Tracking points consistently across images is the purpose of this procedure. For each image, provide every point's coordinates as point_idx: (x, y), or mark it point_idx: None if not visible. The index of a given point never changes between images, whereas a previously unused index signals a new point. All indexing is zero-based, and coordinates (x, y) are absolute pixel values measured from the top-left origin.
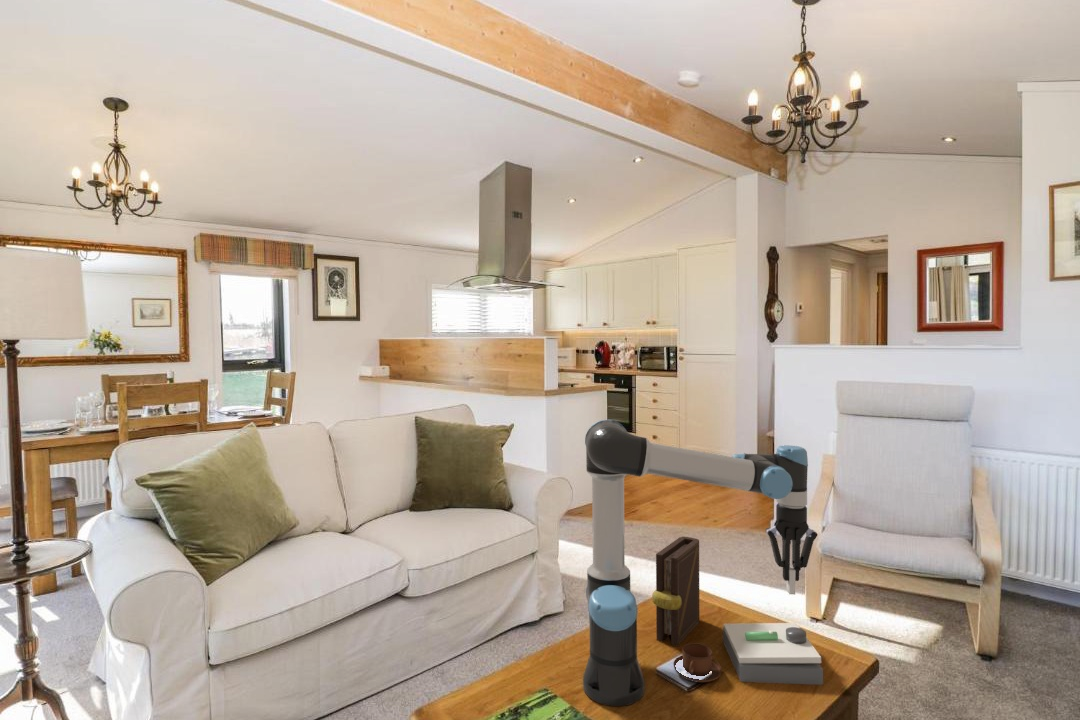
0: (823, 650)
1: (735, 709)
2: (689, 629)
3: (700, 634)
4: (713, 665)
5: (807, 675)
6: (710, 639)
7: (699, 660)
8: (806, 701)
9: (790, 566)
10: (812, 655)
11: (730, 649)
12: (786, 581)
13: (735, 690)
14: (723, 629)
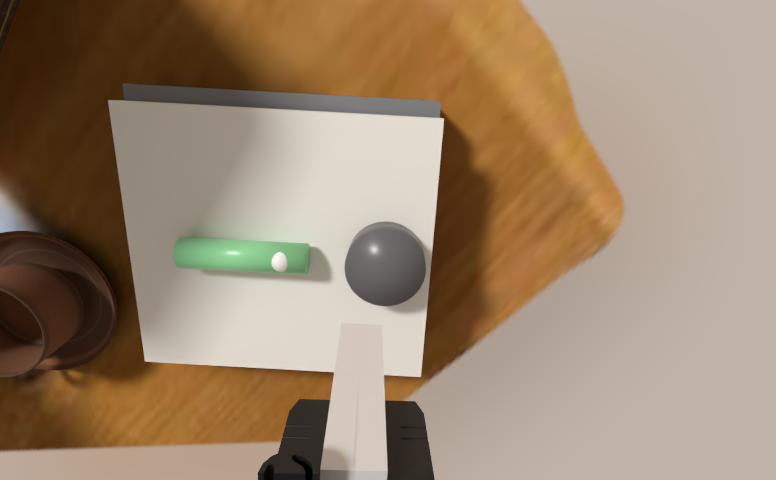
0: (514, 149)
1: (150, 439)
2: (2, 7)
3: (63, 25)
4: (98, 274)
5: None
6: (104, 70)
7: (8, 371)
8: None
9: (366, 473)
10: (397, 365)
11: None
12: (335, 367)
13: (160, 371)
14: (125, 96)
